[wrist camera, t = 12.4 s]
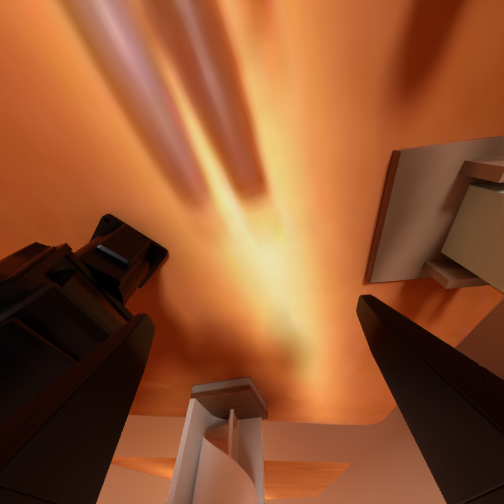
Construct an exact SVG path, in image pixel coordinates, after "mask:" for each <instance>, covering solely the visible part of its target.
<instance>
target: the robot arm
mask: <svg viewBox="0 0 504 504" xmlns="http://www.w3.org/2000/svg"><path fill="white" fill-rule="evenodd" d="M107 218H108V219H110V221H109V220H108V219H107ZM71 250H72V248H71V247H70V246H69V245H68V244H67V243H65V244H62V245H59V246H57V247H55V246H53V247H50V246H46V245H43V244H40V243H37V242H35V243H33V244H30V245H28V246H26V247H24V248H22V249H20V250H18V251H16V252H15V253H13V254H11V255H9V256H7V257H5V258H3V259H2V260H0V504H96V502H97V500H98V497H99V494H100V491H101V488H102V486H103V483H104V480H105V477H106V475H107V472H108V469H109V466H110V464H111V461H112V458H113V455H114V452H115V450H116V447H117V444H118V442H119V439H120V436H121V433H122V430H123V428H124V425H125V422H126V420H127V417H128V414H129V411H130V409H131V406H132V403H133V400H134V398H135V395H136V392H137V389H138V386H139V384H140V381H141V378H142V375H143V373H144V370H145V367H146V364H147V360H148V356H149V352H150V348H151V345H152V341H153V337H154V333H155V325H154V323H153V321H152V320H151V318H150V316H149V315H148V314H138V315H136V316H135V317H134V316H133V315H132V314H131V313H130V312H129V311H128V310H127V309H126V308H125V307H124V305H125V304H126V303H127V301H128V300H129V298H130V297H131V296H132V294H133V293H134V292H135V290H136V289H137V287H138V288H141V287H143V285H144V284H145V283H146V281H147V280H148V279H149V277H150V276H151V275H152V273H153V272H154V271H155V269H156V268H157V267H158V266H159V264H160V263H161V262H162V260H163V259H164V258H165V256H166V255H167V253H168V251H167V249H165V248H164V247H162V246H161V245H159V244H158V243H156V242H154V241H153V240H151V239H150V238H148V237H146V236H145V235H143V234H142V233H140V232H138V231H137V230H135V229H134V228H132V227H130V226H129V225H127V224H125V223H124V222H122V221H121V220H119V219H117V218H116V217H114V216H113V215H111V214H106V215H104V216H103V217H102V218H101V220H100V222H99V224H98V226H97V228H96V230H95V232H94V234H93V236H92V238H91V240H90V242H89V243H88V244H86V245H85V246H83V247H82V248H80V249H79V250H78V251H76V252H75V253H73V252H72V251H71ZM160 251H162V252H163V253H161V252H160ZM356 312H357V316H358V319H359V321H360V324H361V327H362V329H363V332H364V335H365V337H366V340H367V343H368V345H369V348H370V350H371V353H372V355H373V357H374V359H375V361H376V363H377V365H378V367H379V369H380V371H381V373H382V375H383V377H384V379H385V381H386V383H387V385H388V387H389V389H390V391H391V393H392V395H393V397H394V399H395V401H396V403H397V405H398V407H399V409H400V411H401V413H402V415H403V417H404V419H405V421H406V423H407V425H408V427H409V429H410V431H411V433H412V435H413V437H414V439H415V441H416V443H417V445H418V447H419V449H420V451H421V453H422V455H423V457H424V459H425V461H426V463H427V465H428V467H429V469H430V471H431V473H432V475H433V477H434V479H435V481H436V483H437V485H438V487H439V489H440V491H441V493H442V495H443V497H444V499H445V501H446V503H447V504H504V380H503V379H501V378H500V377H498V376H497V375H495V374H493V373H492V372H490V371H489V370H487V369H486V368H484V367H483V366H479V364H478V363H476V362H475V361H473V360H472V359H470V358H469V357H467V356H466V355H464V354H462V353H461V352H459V351H458V350H456V349H455V348H453V347H452V346H450V345H448V344H447V343H445V342H444V341H442V340H441V339H439V338H438V337H436V336H435V335H433V334H431V333H430V332H428V331H427V330H425V329H424V328H422V327H421V326H419V325H417V324H416V323H414V322H413V321H411V320H410V319H408V318H407V317H405V316H404V315H402V314H400V313H399V312H397V311H396V310H394V309H393V308H391V307H390V306H388V305H386V304H385V303H383V302H382V301H380V300H379V299H377V298H376V297H374V296H372V295H370V294H368V295H360V296H359V299H358V303H357V308H356Z"/></svg>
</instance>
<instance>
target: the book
mask: <svg viewBox="0 0 504 504" xmlns="http://www.w3.org/2000/svg"><path fill="white" fill-rule="evenodd" d="M441 252H442V253H443V254H445V255H446V256H448V257H449V258H451V259H452V260H454V261H456V262H457V263H459V264H460V265H462V266H463V267H465V268H466V269H468V270H469V271H471V272H472V273H474V274H475V275H477V276H478V277H480V278H481V279H483V280H484V281H486V282H488V283H489V284H491V285H492V286H494V287H495V288H497V289H498V290H500V291H501V292H503V293H504V182H501V183H497V182H490V183H481V184H473V185H470V186H469V188H468V190H467V193H466V195H465V197H464V200H463V202H462V204H461V206H460V209H459V211H458V213H457V216H456V218H455V220H454V223H453V225H452V227H451V230H450V232H449V234H448V237H447V239H446V241H445V243H444V246H443V248H442V250H441Z"/></svg>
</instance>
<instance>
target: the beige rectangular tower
mask: <svg viewBox="0 0 504 504" xmlns="http://www.w3.org/2000/svg"><path fill="white" fill-rule="evenodd" d="M266 418H268V409H267V404H266V403H265V401H264V399H263V398H262V396H261V394H260V393H259V391H258V389H257V388H256V386H255V384H254V383H253V381H252V379H251V378H250V377H245V378H239V379H233V380H227V381H220V382H214V383H208V384H202V385H195V386H193V390H192V394H191V398H190V403H189V407H188V411H187V416H186V420H185V424H184V429H183V433H182V437H181V442H180V446H179V450H178V455H177V459H176V463H175V468H174V472H173V476H172V481H171V486H170V489H169V494H168V498H167V503H166V504H265V493H264V462H263V432H262V419H266Z"/></svg>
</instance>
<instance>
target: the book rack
mask: <svg viewBox="0 0 504 504" xmlns="http://www.w3.org/2000/svg"><path fill="white" fill-rule="evenodd" d="M490 182H497V183H501V182H504V136H498V137H490V138H483V139H475V140H468V141H460V142H453V143H446V144H438V145H431V146H423V147H416V148H408V149H401V150H393V155H392V159H391V164H390V169H389V173H388V178H387V183H386V187H385V192H384V196H383V201H382V206H381V210H380V215H379V219H378V224H377V229H376V233H375V238H374V242H373V247H372V252H371V256H370V261H369V265H368V270H367V275H366V278H367V279H368V281H369V282H370V283H376V282H387V281H398V280H409V279H420V278H431V277H432V278H433V279H434V280H435V281H436V282H438V283H439V284H440V285H441V286H442V287H444V288H445V289H450V288H461V287H473V286H484V285H491V284H489V283H488V282H486V281H484V280H483V279H481V278H480V277H478V276H477V275H475V274H474V273H472V272H471V271H469V270H468V269H466V268H465V267H463V266H462V265H460V264H459V263H457V262H456V261H454V260H452V259H451V258H449V257H448V256H446V255H445V254H443V253H442V252H441V250H442V248H443V246H444V243H445V241H446V239H447V237H448V234H449V232H450V230H451V227H452V225H453V223H454V220H455V218H456V216H457V213H458V211H459V209H460V206H461V204H462V202H463V200H464V197H465V195H466V193H467V190H468V188H469V186H470V185H473V184H481V183H490ZM491 286H492V285H491ZM492 287H494V286H492ZM494 288H495V287H494ZM495 289H497V288H495ZM497 290H498V289H497ZM498 291H500V290H498ZM500 292H501V291H500ZM501 293H503V292H501ZM503 294H504V293H503Z"/></svg>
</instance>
